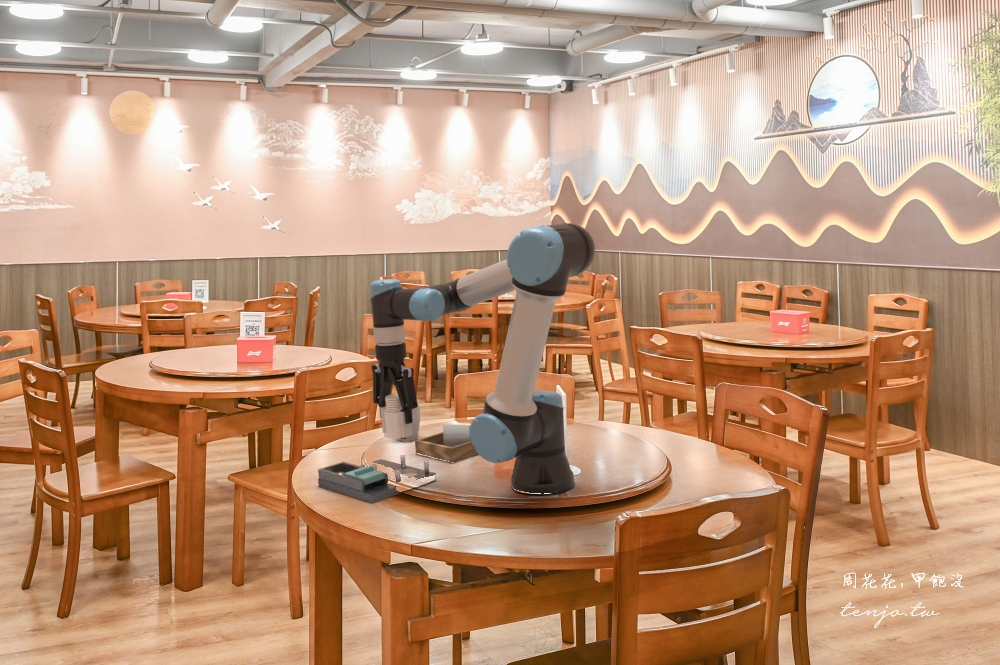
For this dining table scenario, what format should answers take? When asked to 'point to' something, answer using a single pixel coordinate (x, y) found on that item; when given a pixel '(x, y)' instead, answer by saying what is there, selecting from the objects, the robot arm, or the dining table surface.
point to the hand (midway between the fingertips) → (397, 433)
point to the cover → (366, 474)
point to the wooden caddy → (444, 448)
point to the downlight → (393, 417)
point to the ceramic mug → (456, 434)
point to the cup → (414, 425)
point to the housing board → (373, 491)
